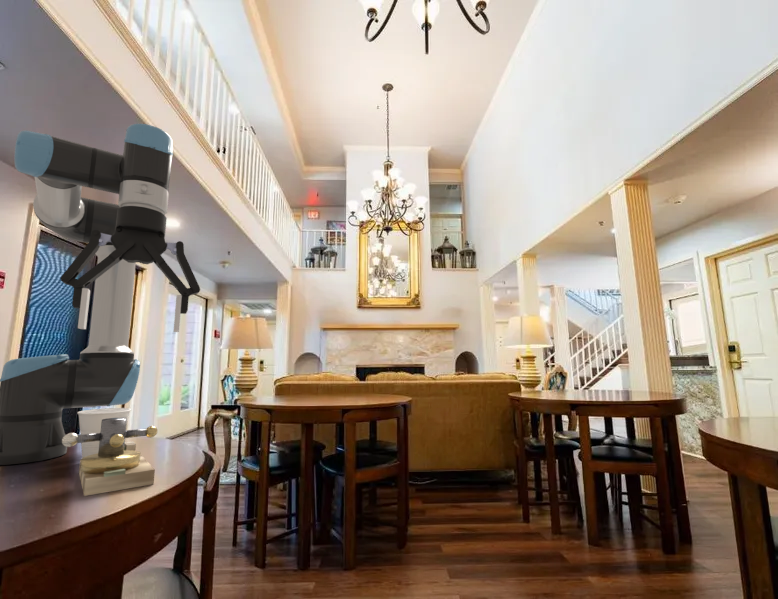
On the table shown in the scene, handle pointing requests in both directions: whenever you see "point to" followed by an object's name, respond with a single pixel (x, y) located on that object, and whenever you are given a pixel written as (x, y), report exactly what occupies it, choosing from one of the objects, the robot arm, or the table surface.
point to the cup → (97, 425)
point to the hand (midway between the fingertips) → (131, 330)
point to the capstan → (109, 446)
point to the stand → (118, 477)
